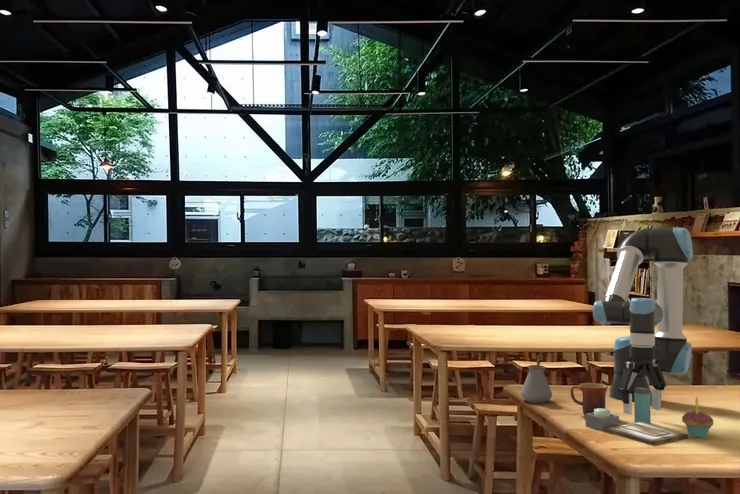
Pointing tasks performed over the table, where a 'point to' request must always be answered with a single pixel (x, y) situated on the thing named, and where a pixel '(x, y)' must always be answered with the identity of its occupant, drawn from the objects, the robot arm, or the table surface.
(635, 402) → the grey and mint block
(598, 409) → the button
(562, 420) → the table surface
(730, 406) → the table surface
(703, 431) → the donut
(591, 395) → the mug
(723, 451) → the table surface
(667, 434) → the picture frame
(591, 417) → the button frame
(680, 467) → the table surface
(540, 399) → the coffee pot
